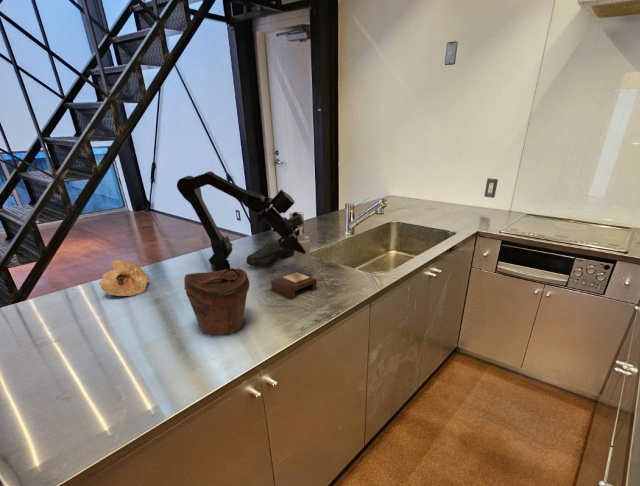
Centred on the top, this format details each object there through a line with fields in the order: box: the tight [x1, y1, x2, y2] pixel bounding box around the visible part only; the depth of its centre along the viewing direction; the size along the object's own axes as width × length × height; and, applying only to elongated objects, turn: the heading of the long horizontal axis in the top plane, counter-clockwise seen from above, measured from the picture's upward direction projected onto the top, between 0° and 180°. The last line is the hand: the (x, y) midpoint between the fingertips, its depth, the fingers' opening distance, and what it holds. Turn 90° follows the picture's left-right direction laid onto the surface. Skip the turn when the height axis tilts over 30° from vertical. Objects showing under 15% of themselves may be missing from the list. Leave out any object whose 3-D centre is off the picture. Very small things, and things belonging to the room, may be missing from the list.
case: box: [183, 268, 250, 336], centre depth 114 cm, size 18×20×18 cm
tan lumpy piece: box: [98, 258, 150, 297], centre depth 139 cm, size 18×14×8 cm
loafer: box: [246, 237, 294, 268], centre depth 168 cm, size 10×29×10 cm, turn 152°
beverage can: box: [293, 234, 311, 269], centre depth 149 cm, size 6×6×12 cm
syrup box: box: [288, 210, 305, 235], centre depth 196 cm, size 6×6×14 cm
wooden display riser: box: [270, 271, 317, 300], centre depth 142 cm, size 13×11×4 cm
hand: (305, 250), depth 149 cm, fingers closed on beverage can, 6 cm apart
